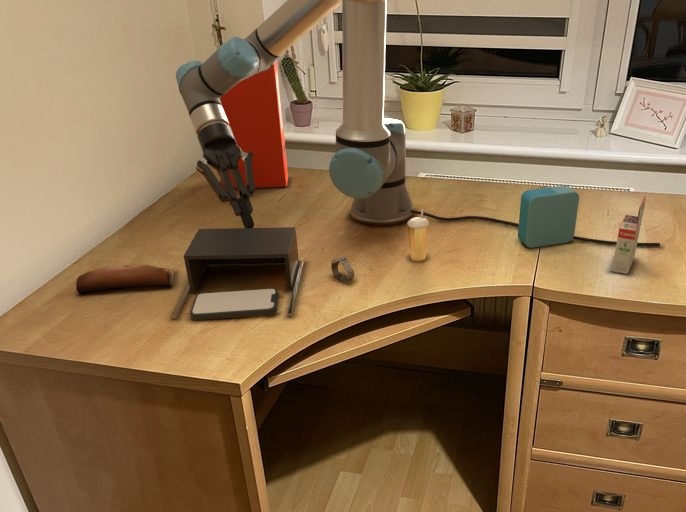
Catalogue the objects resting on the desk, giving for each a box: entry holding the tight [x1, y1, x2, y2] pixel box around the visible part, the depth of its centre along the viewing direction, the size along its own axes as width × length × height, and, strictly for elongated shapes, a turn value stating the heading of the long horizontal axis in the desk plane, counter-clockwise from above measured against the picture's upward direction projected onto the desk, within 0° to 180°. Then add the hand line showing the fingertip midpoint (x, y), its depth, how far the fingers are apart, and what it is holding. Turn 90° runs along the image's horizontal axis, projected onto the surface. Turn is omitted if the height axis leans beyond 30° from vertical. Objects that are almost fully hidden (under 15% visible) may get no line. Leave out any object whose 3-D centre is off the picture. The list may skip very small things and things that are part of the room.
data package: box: [517, 185, 580, 249], centre depth 156 cm, size 12×4×12 cm, turn 107°
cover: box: [183, 226, 300, 293], centre depth 144 cm, size 20×13×8 cm, turn 91°
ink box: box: [610, 194, 647, 275], centre depth 145 cm, size 4×8×15 cm, turn 156°
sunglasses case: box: [75, 264, 175, 294], centre depth 143 cm, size 18×7×7 cm, turn 99°
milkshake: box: [406, 209, 430, 262], centre depth 151 cm, size 5×5×10 cm
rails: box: [171, 260, 305, 320], centre depth 141 cm, size 22×23×1 cm
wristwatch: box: [330, 255, 356, 283], centre depth 143 cm, size 4×6×5 cm, turn 41°
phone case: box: [189, 288, 279, 321], centre depth 135 cm, size 9×2×16 cm
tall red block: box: [219, 59, 289, 190], centre depth 185 cm, size 8×17×32 cm, turn 94°
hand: (250, 227), depth 151 cm, fingers closed
